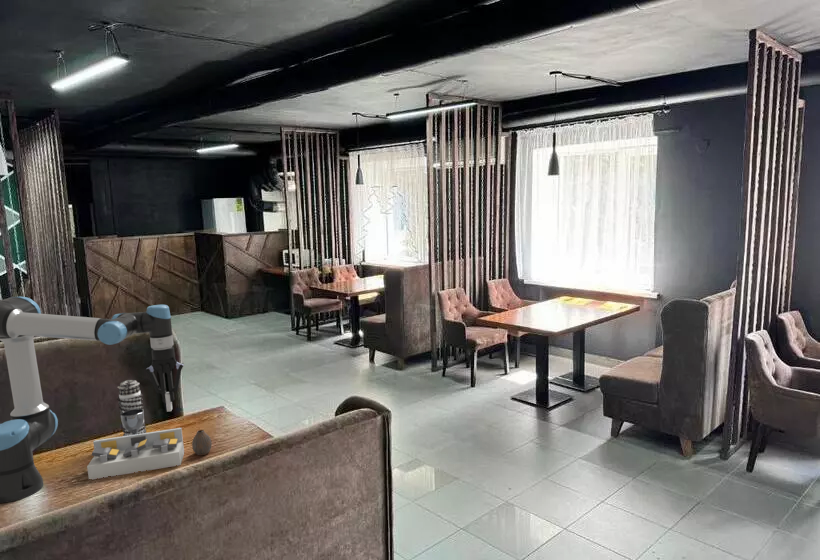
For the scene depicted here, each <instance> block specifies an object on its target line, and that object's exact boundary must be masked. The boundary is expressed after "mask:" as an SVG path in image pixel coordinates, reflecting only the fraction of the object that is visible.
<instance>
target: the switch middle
mask: <svg viewBox="0 0 820 560" xmlns="http://www.w3.org/2000/svg"><path fill="white" fill-rule="evenodd" d="M148 443H149V441H148V439H146V440H144V441H141V442H140V443H136V444H135V445H134V446H132V447H130V448H127V449H126V450H125V452H124V454H123V456H124V458H125V457H127V456H129V455H131V450H138V451H139V450H142V449H144V448H146V447H147V445H148Z"/></svg>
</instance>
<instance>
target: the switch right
mask: <svg viewBox="0 0 820 560" xmlns="http://www.w3.org/2000/svg"><path fill="white" fill-rule="evenodd" d="M177 444H178V439H167V438H166V439H165V440H155V441H154V444H153V448H161V446H163V445H167V447H168V448H173V447H177Z"/></svg>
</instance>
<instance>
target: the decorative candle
mask: <svg viewBox="0 0 820 560" xmlns="http://www.w3.org/2000/svg"><path fill="white" fill-rule="evenodd" d="M117 388H118V397H117V399H116V400H117V401H118V405H119V406H118V408H119V414H121V413H122V412H124V411H127V410H131V409H143V412H144V408H145V407H144V402H142V401H143V400H144V398H143V396H144V395H143V393H141V389H140V382H138V381H137V380H135V379H127V380H124V381H122V382H120V383H119V385H118V386H117ZM121 428H122V433H123V435H122V436H128V435H132V434H131V433H130V432H129V431H128V430H126V429H125V428H124V426H123V425H122V427H121ZM146 428H147V426H146V421H145V420H144V421H143V425H142V427H141V428H140V429H139V431H138V433H137V434H142V433H147V429H146Z"/></svg>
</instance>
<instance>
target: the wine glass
mask: <svg viewBox="0 0 820 560" xmlns="http://www.w3.org/2000/svg"><path fill="white" fill-rule="evenodd" d="M143 410H144V408H143V409H131V410H127V411H124V412H122V413H120V420H121V423H122V427H123V426H124V428H125V429H126V430H128V431H129V432H130V433H131V434H132V435H135V434H137V433H138V431H139V429H140V428H141V427H142V425H143V421H144V422H145V415H144V412H143Z"/></svg>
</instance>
